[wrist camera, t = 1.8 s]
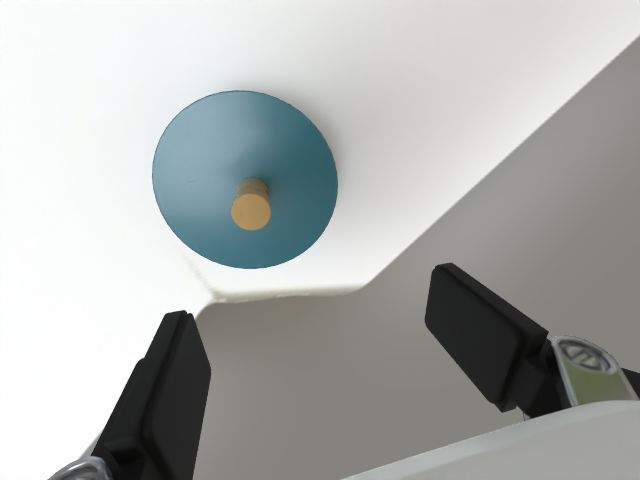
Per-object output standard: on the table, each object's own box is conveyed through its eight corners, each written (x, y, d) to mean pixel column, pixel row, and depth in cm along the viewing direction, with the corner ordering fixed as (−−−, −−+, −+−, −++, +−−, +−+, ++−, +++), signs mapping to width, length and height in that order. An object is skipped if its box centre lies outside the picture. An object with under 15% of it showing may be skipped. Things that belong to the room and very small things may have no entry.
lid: (128, 95, 18) (67, 83, 13) (332, 89, 21) (361, 77, 15) (185, 273, 25) (163, 321, 19) (335, 251, 28) (357, 287, 22)
